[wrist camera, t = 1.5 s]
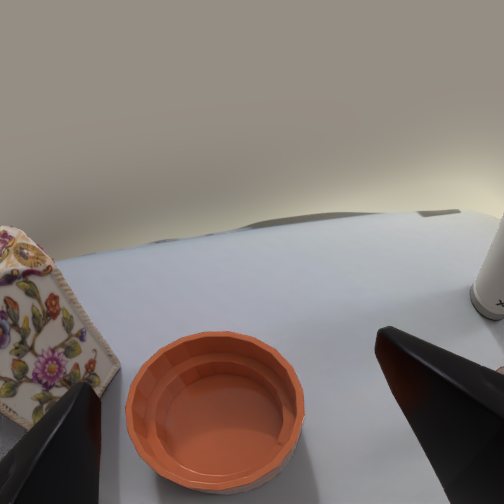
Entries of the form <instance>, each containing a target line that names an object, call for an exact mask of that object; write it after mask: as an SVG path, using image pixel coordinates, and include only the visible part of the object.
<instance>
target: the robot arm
mask: <svg viewBox="0 0 504 504" xmlns="http://www.w3.org/2000/svg"><path fill="white" fill-rule="evenodd" d="M375 355H376V358H377V360H378V362H379V364H380V367H381V369H382V371H383V373H384V376H385V378H386V380H387V383H388V385H389V387H390V390H391V392H392V394H393V396H394V397H395V399H396V401H397V403H398V405H399V406H400V408H401V410H402V412H403V413H404V415H405V417H406V419H407V421H408V422H409V424H410V426H411V428H412V430H413V431H414V433H415V435H416V437H417V439H418V441H419V443H420V444H421V446H422V448H423V450H424V452H425V454H426V456H427V458H428V459H429V461H430V463H431V465H432V467H433V469H434V471H435V473H436V475H437V477H438V479H439V481H440V483H441V485H442V487H443V488H444V491H445V493H446V495H447V497H448V499H449V502H450V504H504V374H501V373H499V372H496V371H494V370H491V369H489V368H486V367H484V366H481V365H479V364H477V363H475V362H472V361H470V360H468V359H465V358H463V357H461V356H458V355H456V354H454V353H452V352H449V351H447V350H445V349H442V348H440V347H438V346H435V345H433V344H431V343H429V342H426V341H424V340H422V339H419V338H417V337H415V336H413V335H410V334H408V333H406V332H404V331H401V330H399V329H397V328H394V327H392V326H387V327H384V328H381V329H379V330H378V332H377V337H376V343H375ZM100 455H101V401H100V398H99V397H98V395H97V394H96V392H95V391H94V389H93V388H92V386H91V385H90V383H88V382H86V381H84V382H76V383H75V384H74V385H73V386H72V387H71V388H70V389H69V390H68V391H67V392H66V393H65V394H64V395H63V396H62V397H61V398H60V399H59V400H58V401H57V402H56V403H55V404H54V405H53V406H52V407H51V408H50V409H49V410H48V411H47V412H46V413H45V414H44V415H43V416H42V418H41V419H40V420H39V421H38V422H37V423H36V424H35V425H34V426H33V427H32V428H31V429H30V430H29V431H28V432H27V433H26V434H25V435H24V436H23V438H22V439H21V440H20V441H19V442H18V443H17V444H16V445H15V446H14V447H13V449H11V450H10V451H9V453H8V454H7V455H6V456H5V457H4V458H3V459H2V460H1V461H0V504H98V500H99V471H100Z"/></svg>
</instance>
